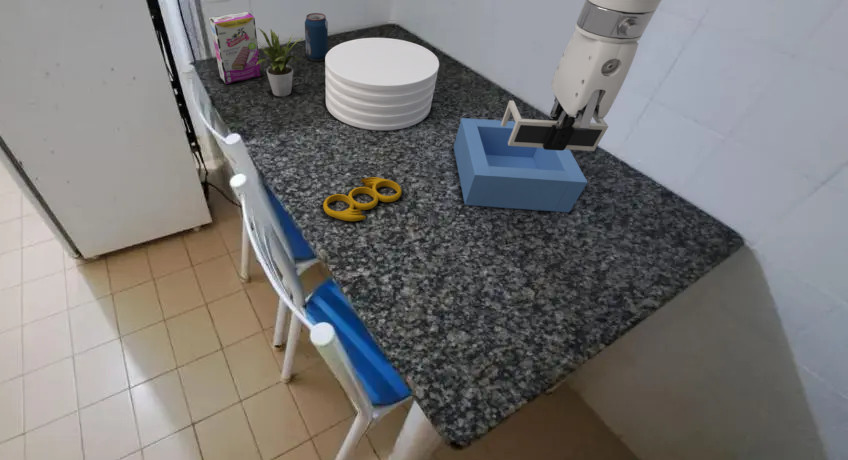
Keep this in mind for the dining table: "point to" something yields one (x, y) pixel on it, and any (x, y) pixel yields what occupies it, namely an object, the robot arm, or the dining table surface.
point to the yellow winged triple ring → (357, 214)
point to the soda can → (316, 36)
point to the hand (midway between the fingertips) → (551, 145)
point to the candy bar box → (235, 46)
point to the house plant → (278, 65)
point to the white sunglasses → (538, 130)
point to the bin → (513, 170)
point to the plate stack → (380, 83)
